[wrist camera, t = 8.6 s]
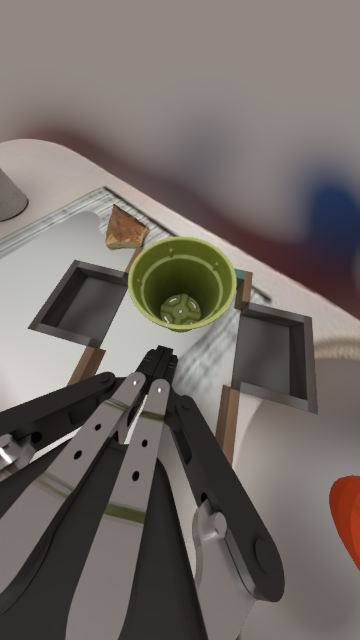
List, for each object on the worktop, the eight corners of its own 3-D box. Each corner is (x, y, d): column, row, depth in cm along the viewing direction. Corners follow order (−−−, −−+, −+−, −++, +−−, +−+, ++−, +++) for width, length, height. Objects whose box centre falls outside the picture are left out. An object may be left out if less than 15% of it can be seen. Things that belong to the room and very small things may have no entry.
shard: (116, 211, 27) (112, 201, 26) (152, 212, 28) (151, 202, 26) (107, 250, 24) (102, 242, 22) (148, 251, 24) (146, 242, 22)
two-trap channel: (7, 395, 16) (-23, 401, 13) (99, 249, 23) (90, 236, 21) (298, 495, 13) (325, 525, 11) (294, 294, 21) (309, 285, 18)
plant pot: (224, 322, 19) (260, 290, 11) (170, 358, 17) (162, 353, 9) (189, 277, 21) (196, 223, 13) (138, 304, 20) (109, 262, 12)
